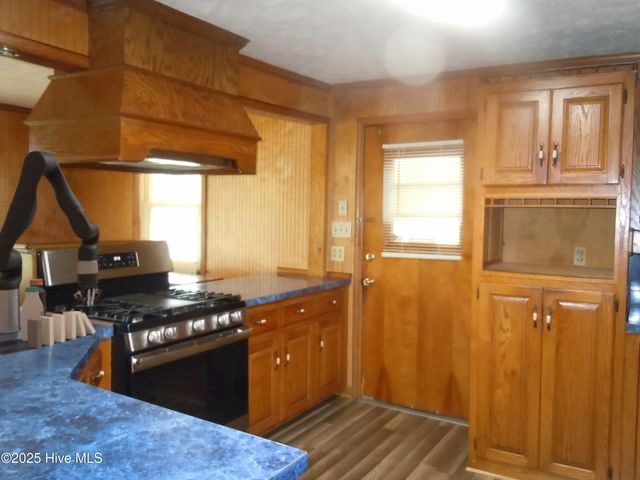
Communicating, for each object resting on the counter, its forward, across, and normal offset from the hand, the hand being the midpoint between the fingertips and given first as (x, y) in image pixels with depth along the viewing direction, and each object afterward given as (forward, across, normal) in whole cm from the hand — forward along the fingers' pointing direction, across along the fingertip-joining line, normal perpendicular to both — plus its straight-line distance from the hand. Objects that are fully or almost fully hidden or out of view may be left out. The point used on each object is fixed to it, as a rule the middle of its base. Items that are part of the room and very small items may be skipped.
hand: (88, 315), depth 212 cm
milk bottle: (+8, +16, -11) cm, 21 cm away
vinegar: (+8, 0, -29) cm, 30 cm away
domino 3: (+8, +14, 0) cm, 16 cm away
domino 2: (+8, +19, 0) cm, 21 cm away
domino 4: (+8, +9, 0) cm, 12 cm away
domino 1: (+8, +24, 0) cm, 25 cm away
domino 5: (+7, +4, 0) cm, 8 cm away
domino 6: (+7, -1, 0) cm, 7 cm away
